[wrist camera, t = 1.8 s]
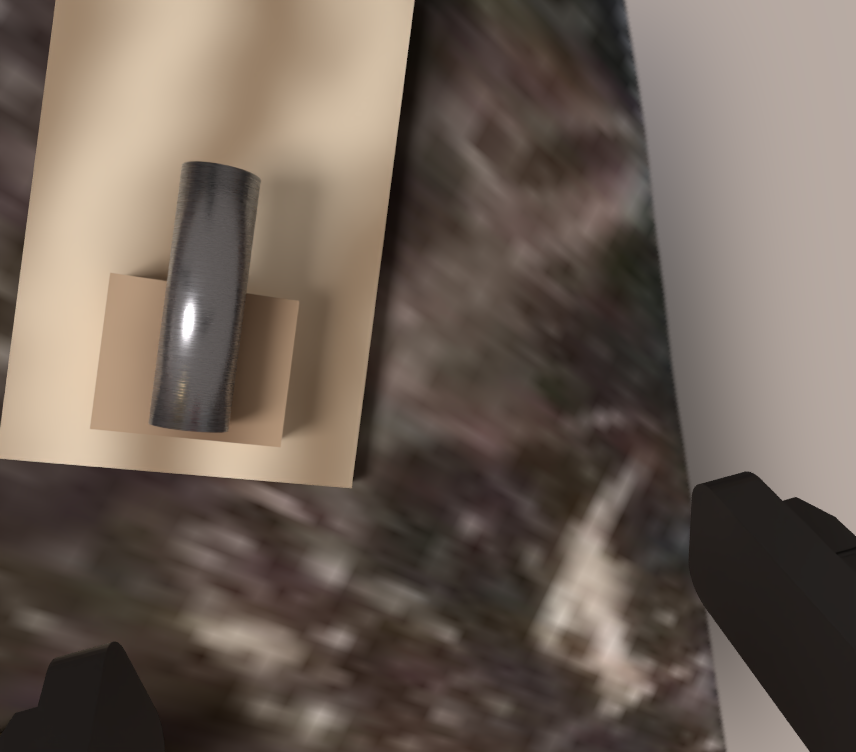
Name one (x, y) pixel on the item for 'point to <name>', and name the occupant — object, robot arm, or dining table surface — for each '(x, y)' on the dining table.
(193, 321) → the shafts
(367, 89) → the shaft bench
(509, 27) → the dining table surface
